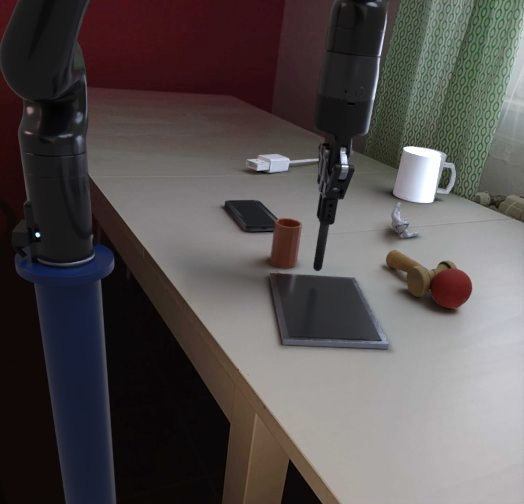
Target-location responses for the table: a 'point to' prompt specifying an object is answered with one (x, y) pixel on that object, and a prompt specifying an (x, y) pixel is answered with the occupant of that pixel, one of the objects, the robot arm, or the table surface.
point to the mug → (421, 174)
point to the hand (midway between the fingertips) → (324, 220)
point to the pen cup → (285, 242)
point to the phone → (251, 215)
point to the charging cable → (272, 163)
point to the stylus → (320, 246)
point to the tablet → (324, 312)
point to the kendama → (434, 280)
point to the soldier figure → (400, 223)
